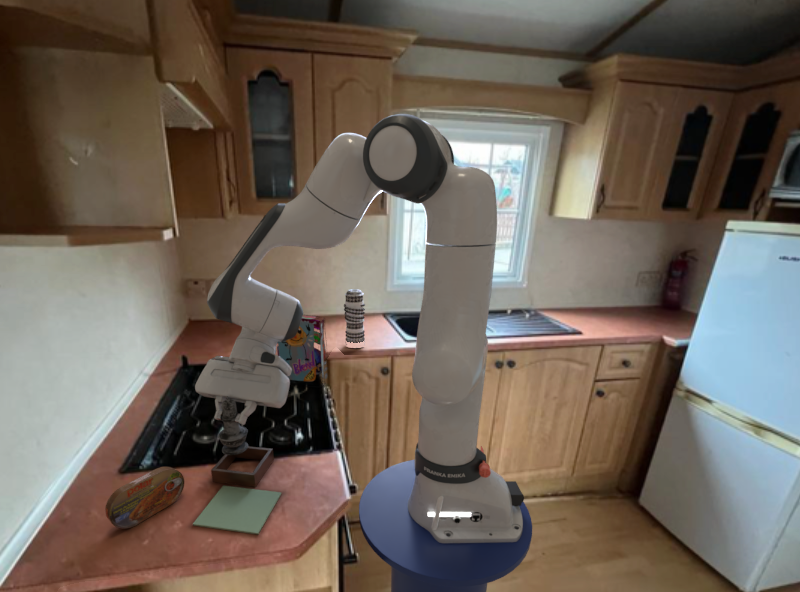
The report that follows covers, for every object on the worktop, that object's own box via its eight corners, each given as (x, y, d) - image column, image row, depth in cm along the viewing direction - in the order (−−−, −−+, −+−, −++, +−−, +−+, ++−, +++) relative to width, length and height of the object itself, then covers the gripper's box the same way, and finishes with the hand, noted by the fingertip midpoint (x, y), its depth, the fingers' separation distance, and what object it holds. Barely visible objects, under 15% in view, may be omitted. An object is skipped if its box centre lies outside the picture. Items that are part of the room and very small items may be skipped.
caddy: (274, 459, 103) (272, 448, 101) (255, 486, 93) (254, 475, 92) (234, 455, 104) (233, 444, 103) (212, 481, 95) (210, 470, 94)
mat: (281, 493, 91) (281, 492, 90) (258, 534, 79) (258, 533, 79) (223, 486, 93) (223, 485, 93) (192, 525, 82) (192, 523, 82)
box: (258, 380, 148) (251, 315, 139) (267, 374, 153) (260, 310, 145) (322, 389, 141) (318, 320, 132) (329, 381, 146) (326, 315, 138)
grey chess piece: (252, 439, 88) (245, 389, 84) (246, 455, 83) (238, 402, 79) (224, 440, 88) (216, 390, 84) (216, 456, 83) (207, 403, 78)
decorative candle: (358, 341, 189) (357, 287, 180) (369, 346, 182) (369, 290, 173) (341, 345, 184) (339, 289, 175) (352, 350, 177) (350, 293, 168)
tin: (115, 537, 79) (105, 502, 76) (108, 530, 81) (98, 495, 78) (188, 495, 90) (181, 463, 87) (180, 489, 92) (174, 457, 89)
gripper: (202, 348, 88) (177, 409, 83) (287, 358, 82) (265, 424, 77) (219, 360, 94) (196, 418, 89) (299, 370, 88) (279, 433, 82)
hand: (229, 421), depth 83 cm, fingers closed on grey chess piece, 3 cm apart
